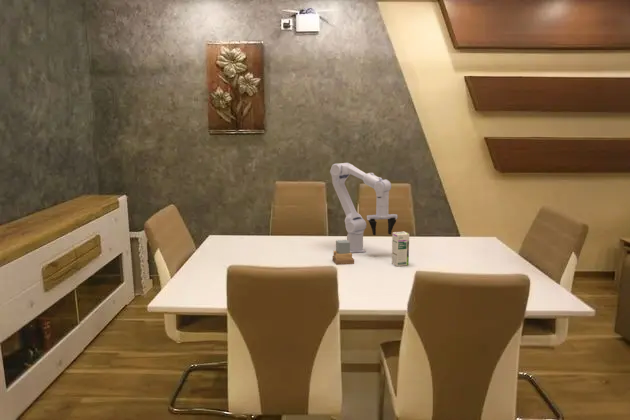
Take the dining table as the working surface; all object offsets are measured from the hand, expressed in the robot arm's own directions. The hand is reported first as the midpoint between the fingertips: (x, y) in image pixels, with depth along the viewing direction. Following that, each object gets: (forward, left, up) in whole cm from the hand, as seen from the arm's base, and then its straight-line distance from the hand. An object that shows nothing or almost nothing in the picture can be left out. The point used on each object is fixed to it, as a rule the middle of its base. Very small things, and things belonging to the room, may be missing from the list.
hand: (381, 234), depth 255 cm
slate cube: (+6, -21, -6) cm, 23 cm away
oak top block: (+6, -21, -8) cm, 23 cm away
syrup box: (+16, +3, -11) cm, 19 cm away
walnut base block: (+7, -21, -11) cm, 24 cm away
